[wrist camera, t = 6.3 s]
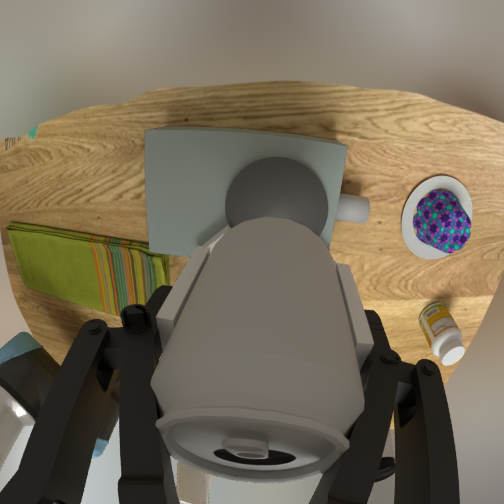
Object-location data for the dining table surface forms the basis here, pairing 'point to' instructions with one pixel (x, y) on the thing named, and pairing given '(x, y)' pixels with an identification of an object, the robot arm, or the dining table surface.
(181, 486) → the skyscraper
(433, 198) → the pudding
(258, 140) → the gearbox
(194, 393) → the can
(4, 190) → the dining table surface
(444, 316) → the supplement bottle
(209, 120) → the dining table surface
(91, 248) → the dish towel
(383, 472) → the travel mug
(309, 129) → the dining table surface
